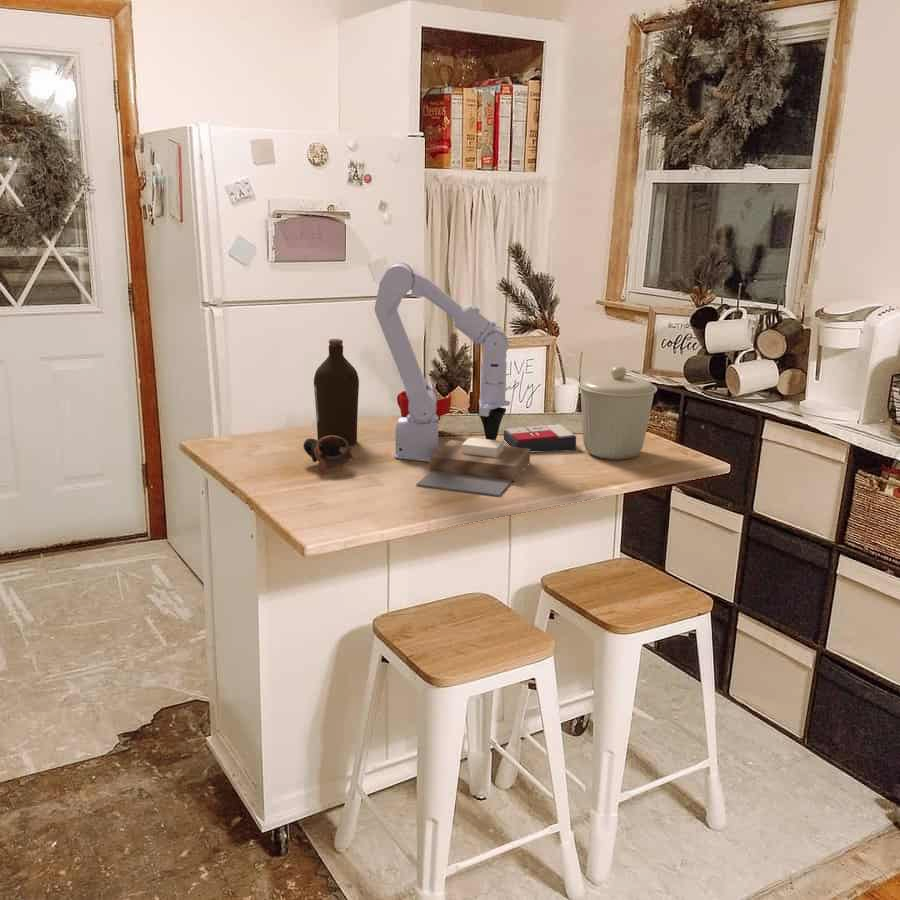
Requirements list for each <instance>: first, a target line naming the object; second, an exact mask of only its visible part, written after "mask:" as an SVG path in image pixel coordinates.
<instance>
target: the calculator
mask: <svg viewBox="0 0 900 900" xmlns="http://www.w3.org/2000/svg"><path fill="white" fill-rule="evenodd" d="M504 440H505V441H506V442H507V443H508V444H509V445H510V446H511V447H518V448H527V449H530V451H545V452H552V451H553V452H555V451H559V452H564V451H563V450H570V451H576V450H577V435H574V434H573V433H572V432H571V431H569V430H568V429H566V428H565V427H564V426H563V425H562V424H560V423H559V424H548V425H545V424H542V425H541V424H540V425H531V426H530V425H529V426H522V427H521V426H520V427H509V428H506V429H505V430H503V441H504ZM507 443H506V444H507ZM508 444H507V445H508ZM509 445H508V446H509ZM510 446H509V447H510ZM554 450H555V451H554ZM560 450H561V451H560Z"/></svg>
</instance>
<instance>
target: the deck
mask: <svg viewBox="0 0 900 900" xmlns="http://www.w3.org/2000/svg"><path fill="white" fill-rule="evenodd" d="M464 442H465V440H464V441H462V440H454V439H450V440H449V441H447V442H446V443H445V444H444V445H442V446H441V447H440V448H438V451H437V452H435V453H434V454H433V455H432V456H430V462H429V463H430V464H429V465H430V466H429V467H430V468H429V469H430V472H431V471H439V472H447V473H455V474H464V475H472V476H480V477H488V478H496V479H504V480H512V481H515V480H516V481H517V480H518V478H519V477H520V476H521V475H522V474H523V472H524V471H525V470H526V469H527V467H529V465H530V464H529V463H531V461H530V460H531V453H530V449H527V448H518V447H510V446H509V445H504V448H503V451H502V452H501V453H500V454H499V455H498V456H497V457H491V456H483V455H474V454H466V453H461V451H462V444H463V443H464ZM528 464H529V465H528ZM525 468H526V469H525ZM524 469H525V470H524ZM430 472H429V473H430ZM520 474H521V475H520ZM519 475H520V476H519ZM516 481H515V482H516Z"/></svg>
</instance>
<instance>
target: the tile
mask: <svg viewBox="0 0 900 900" xmlns="http://www.w3.org/2000/svg"><path fill="white" fill-rule="evenodd" d="M504 443H505V442H504V440H497V439H496V440H488V439H486V438H479V437H469V438H467V439H466V440H464V443H463V444H462V451H461V453H466V454H474V455H483V456H491V457H497V456H498V455H499V454H500V453H501V452H502V451H503V448H504V446H505V445H504Z"/></svg>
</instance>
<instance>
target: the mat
mask: <svg viewBox="0 0 900 900" xmlns="http://www.w3.org/2000/svg"><path fill="white" fill-rule="evenodd" d="M510 483H511V484H512V480H504V479H496V478H488V477H480V476H472V475H464V474H455V473H447V472H439V471H431V472H428V473H427V474H426V475H425V476H424V477H423V478H422V479H420V480H419V481H418V482H417V483H416V485H415V486H416V487H420V488H421V487H422V488H428V489H437V488H438V489H439V490H444V489H445V490H446V491H452V490H453V491H454V492H459V491H462V492H461V493H467V492H470V494H475V493H480V494H479V495H483V494H488V495H487V496H490V495H497V496H496V497H498V496H500V495H501V496H502V494H503V493H504V492H505V491H506V490H507V488H508V487H509V486H510V485H511V484H510ZM509 484H510V485H509ZM508 485H509V486H508ZM505 489H506V490H505ZM504 490H505V491H504ZM503 491H504V492H503ZM502 492H503V493H502ZM501 496H500V497H501Z"/></svg>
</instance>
